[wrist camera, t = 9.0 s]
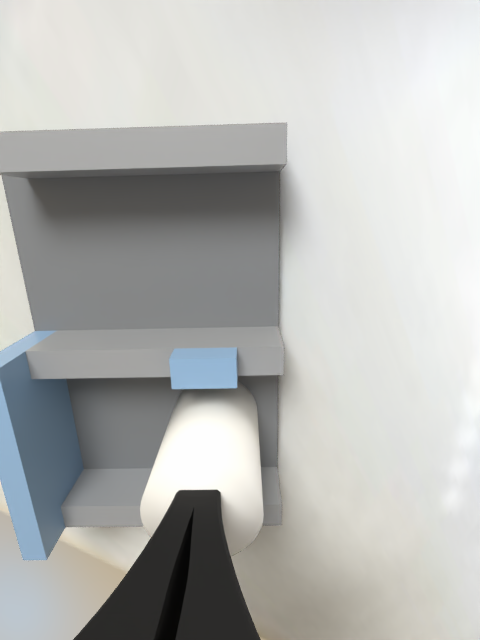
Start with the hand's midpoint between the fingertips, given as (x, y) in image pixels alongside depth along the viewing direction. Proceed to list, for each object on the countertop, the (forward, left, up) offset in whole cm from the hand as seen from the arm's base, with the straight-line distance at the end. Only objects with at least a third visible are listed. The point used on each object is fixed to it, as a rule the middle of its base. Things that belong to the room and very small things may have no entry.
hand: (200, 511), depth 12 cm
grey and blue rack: (+2, -4, -6) cm, 8 cm away
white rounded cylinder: (0, 0, -6) cm, 6 cm away
